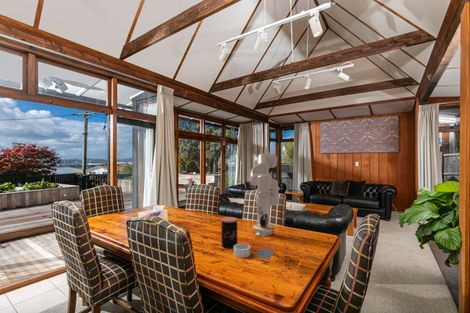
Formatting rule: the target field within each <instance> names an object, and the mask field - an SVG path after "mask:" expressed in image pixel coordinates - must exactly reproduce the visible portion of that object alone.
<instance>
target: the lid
mask: <svg viewBox="0 0 470 313" xmlns="http://www.w3.org/2000/svg"><path fill="white" fill-rule="evenodd" d="M252 229H253V230H254V231H255V232H256V231H258V232H273V231H275V229H276V228H275V225H272V224H270V225H268V224H267V217H265V226H260V224H258V225H257V224H255V225H253V227H252Z"/></svg>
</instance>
